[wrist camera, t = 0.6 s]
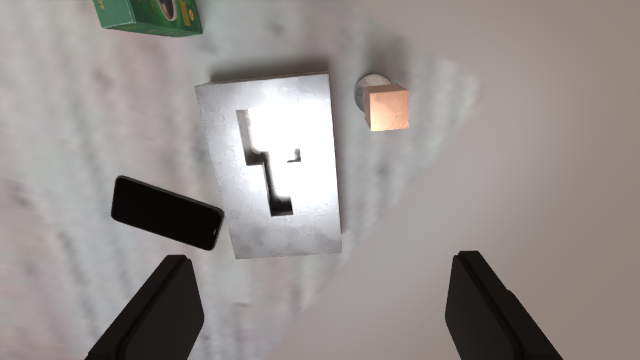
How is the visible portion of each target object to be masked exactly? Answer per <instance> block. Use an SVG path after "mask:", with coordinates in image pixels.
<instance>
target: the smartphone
mask: <svg viewBox="0 0 640 360" xmlns="http://www.w3.org/2000/svg"><path fill="white" fill-rule="evenodd" d="M111 216H112V218H113V219H114V220H116V221H118V222H121V223H124V224H127V225H130V226H133V227H136V228H139V229H142V230H145V231H149V232H152V233H155V234H158V235H161V236H164V237H167V238H170V239H173V240H176V241H179V242H182V243H185V244H188V245H191V246H194V247H197V248H200V249H203V250H207V251H210V250H212V249H214V247H215V245H216V241H217V238H218V235H219V232H220V228H221V225H222V222H223V218H224V212H223V211H222V210H221V209H219V208H216V207H213V206H211V205H208V204H205V203H202V202H199V201H196V200H193V199H191V198H187V197H184V196H181V195H179V194H176V193H173V192H170V191H167V190H164V189H161V188H158V187H155V186H152V185H149V184H146V183H144V182H141V181H138V180H135V179H132V178H129V177H126V176H119V177H117V178H116V181H115V187H114V194H113V201H112V208H111Z"/></svg>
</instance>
